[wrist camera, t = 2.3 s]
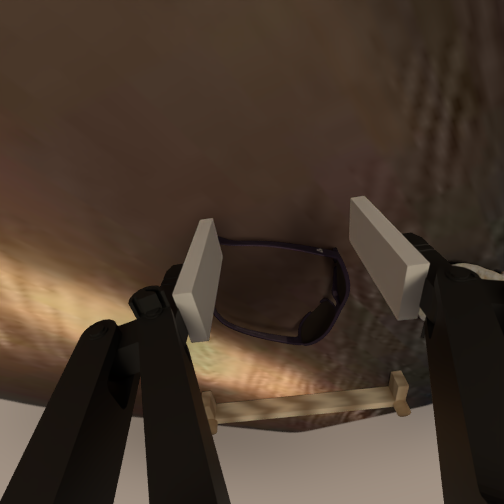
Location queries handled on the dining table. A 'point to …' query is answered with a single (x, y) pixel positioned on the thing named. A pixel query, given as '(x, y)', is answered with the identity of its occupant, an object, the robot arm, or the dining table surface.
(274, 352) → the dining table surface
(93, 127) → the dining table surface
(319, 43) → the dining table surface
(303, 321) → the sunglasses
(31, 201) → the dining table surface
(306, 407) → the beige long bar
